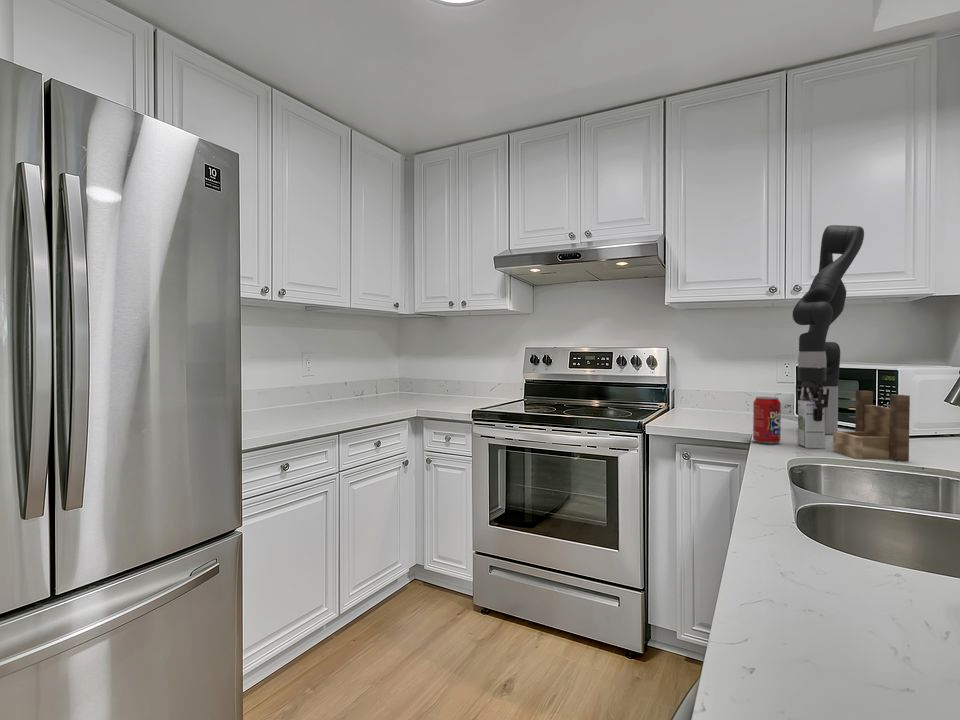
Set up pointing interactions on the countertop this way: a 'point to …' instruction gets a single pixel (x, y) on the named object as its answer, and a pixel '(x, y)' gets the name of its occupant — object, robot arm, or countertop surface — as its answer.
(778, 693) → the countertop surface
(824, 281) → the robot arm
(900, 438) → the wooden stand
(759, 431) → the soda can
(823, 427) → the syrup box
